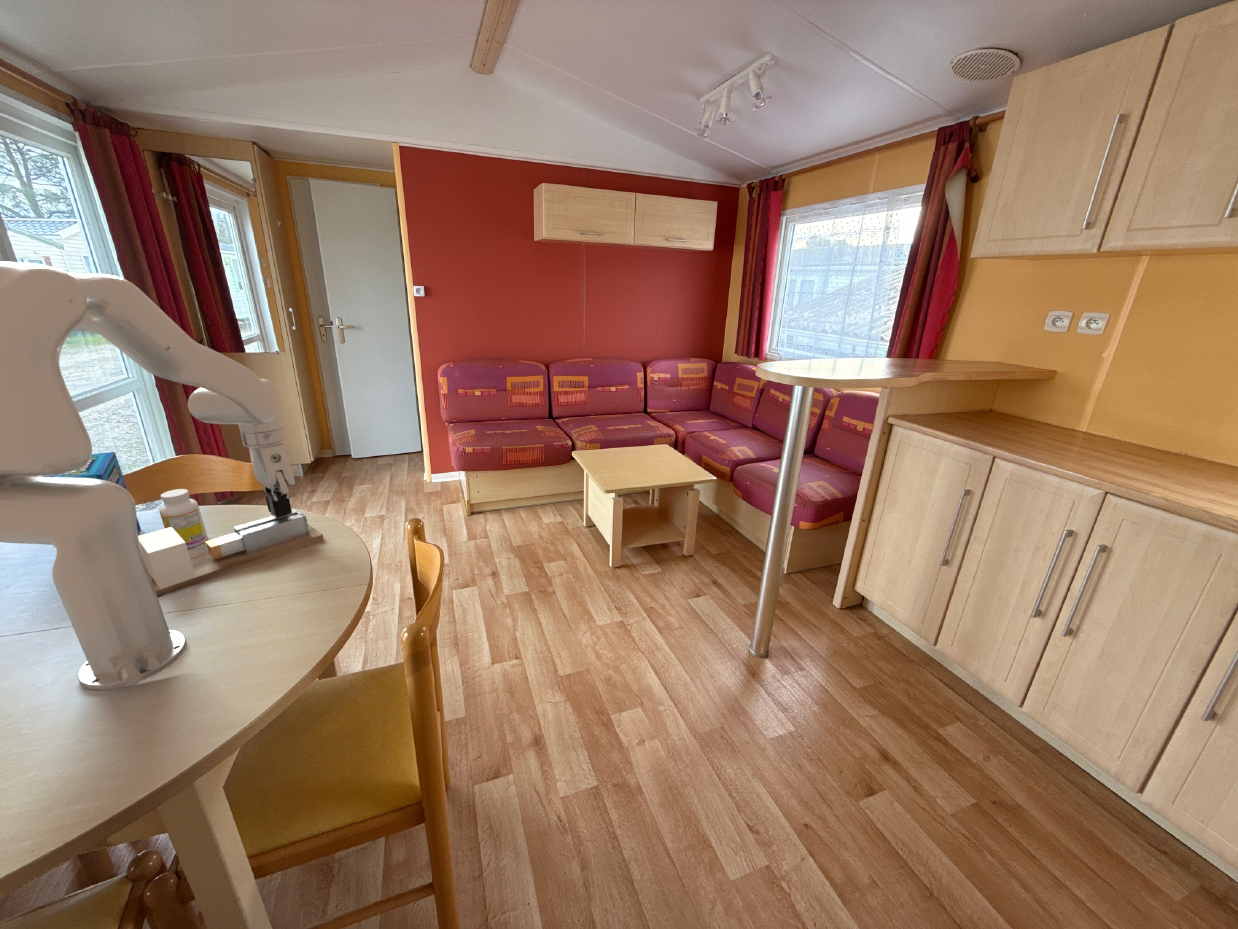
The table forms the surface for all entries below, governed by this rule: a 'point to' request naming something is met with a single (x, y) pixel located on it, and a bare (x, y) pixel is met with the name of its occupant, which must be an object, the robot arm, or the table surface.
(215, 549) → the sliding bolt latch
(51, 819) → the table surface
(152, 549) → the block
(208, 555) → the base board
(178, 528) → the supplement bottle
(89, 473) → the box
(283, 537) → the outer sleeve
